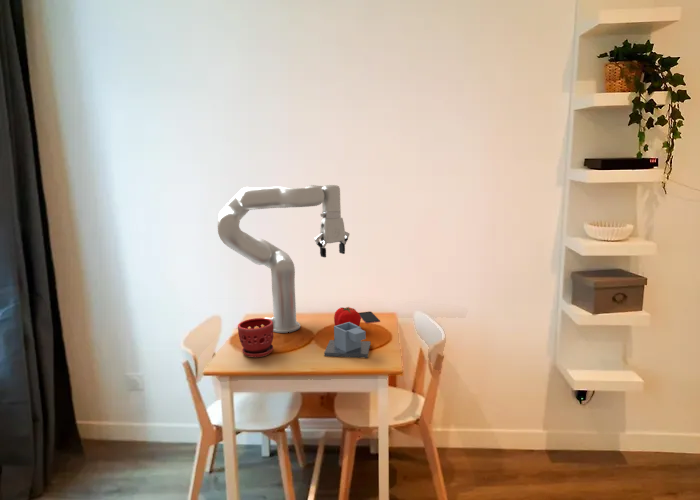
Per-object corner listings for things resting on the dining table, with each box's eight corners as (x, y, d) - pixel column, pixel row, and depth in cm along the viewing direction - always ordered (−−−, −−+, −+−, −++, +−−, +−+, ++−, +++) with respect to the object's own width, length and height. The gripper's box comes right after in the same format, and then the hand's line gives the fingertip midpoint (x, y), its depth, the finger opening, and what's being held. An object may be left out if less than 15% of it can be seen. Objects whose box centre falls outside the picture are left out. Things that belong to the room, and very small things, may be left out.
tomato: (329, 335, 209) (328, 311, 207) (340, 324, 221) (339, 301, 219) (355, 337, 206) (355, 313, 203) (365, 326, 217) (364, 303, 215)
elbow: (352, 356, 185) (352, 335, 183) (334, 346, 194) (333, 326, 192) (368, 350, 189) (368, 330, 187) (349, 341, 198) (349, 321, 197)
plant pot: (279, 346, 198) (278, 317, 196) (267, 361, 186) (265, 330, 183) (248, 344, 201) (246, 315, 199) (234, 358, 189) (231, 328, 186)
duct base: (324, 356, 189) (323, 339, 187) (330, 343, 200) (329, 327, 199) (367, 358, 187) (367, 341, 185) (370, 345, 198) (370, 329, 197)
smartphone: (371, 311, 236) (381, 321, 223) (371, 312, 236) (381, 322, 223) (356, 312, 234) (365, 322, 221) (356, 314, 235) (365, 324, 221)
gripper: (319, 218, 205) (320, 259, 208) (353, 213, 215) (354, 253, 219) (309, 216, 211) (310, 256, 214) (343, 212, 221) (344, 250, 224)
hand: (332, 255), depth 216 cm, fingers open, 9 cm apart
